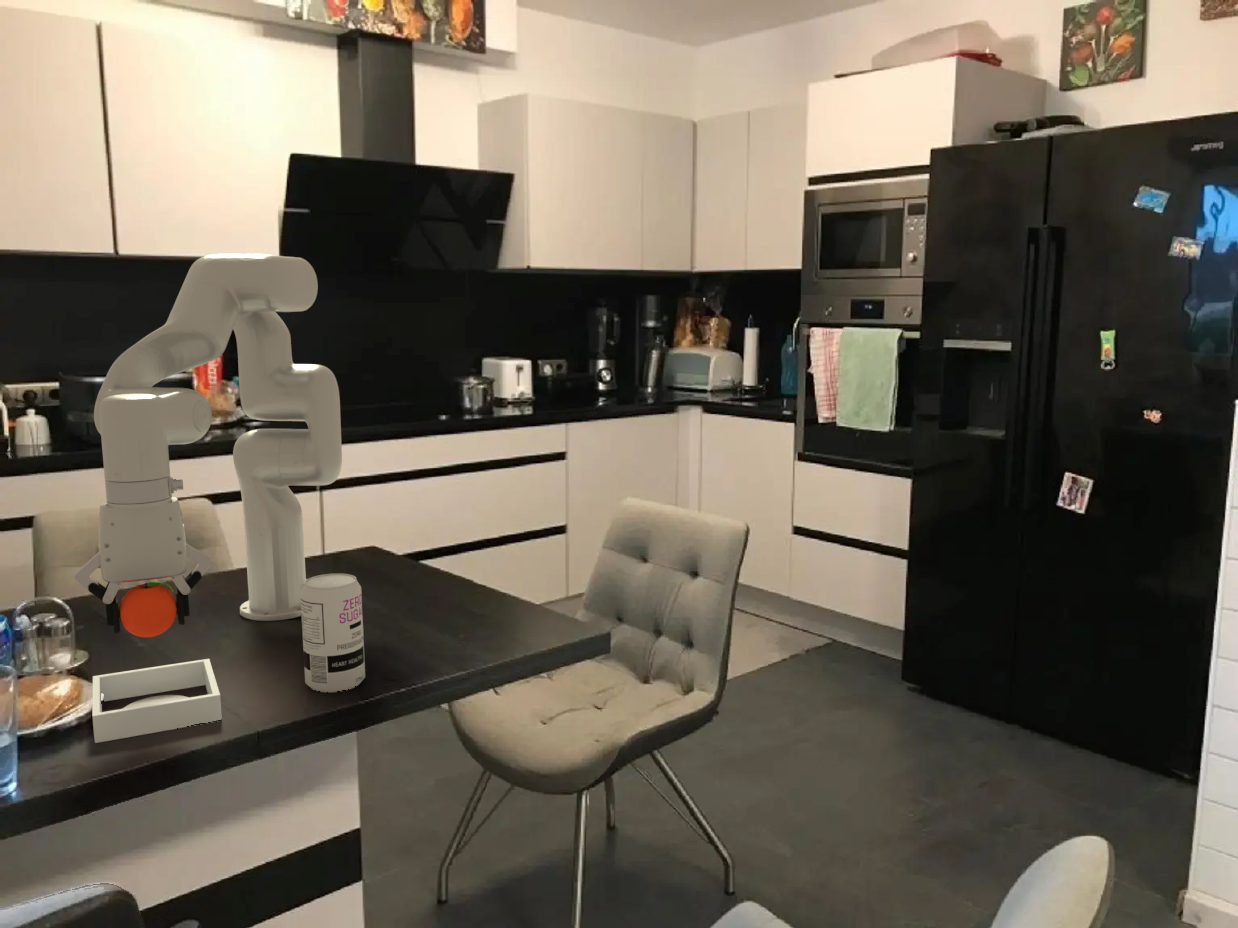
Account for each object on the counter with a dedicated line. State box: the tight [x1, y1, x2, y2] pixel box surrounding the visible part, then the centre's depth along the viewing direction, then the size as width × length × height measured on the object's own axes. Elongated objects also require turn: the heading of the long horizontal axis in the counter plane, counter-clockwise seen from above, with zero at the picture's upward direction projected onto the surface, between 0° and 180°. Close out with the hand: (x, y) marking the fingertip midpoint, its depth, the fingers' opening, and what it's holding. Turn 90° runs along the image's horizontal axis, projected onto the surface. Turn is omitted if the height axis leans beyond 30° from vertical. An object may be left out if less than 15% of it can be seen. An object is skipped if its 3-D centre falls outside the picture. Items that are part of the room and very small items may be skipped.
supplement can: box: [300, 573, 366, 693], centre depth 142 cm, size 8×8×15 cm
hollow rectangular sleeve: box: [91, 658, 223, 744], centre depth 134 cm, size 15×15×4 cm
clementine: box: [118, 581, 177, 638], centre depth 132 cm, size 8×7×7 cm
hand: (149, 625), depth 132 cm, fingers closed on clementine, 7 cm apart
